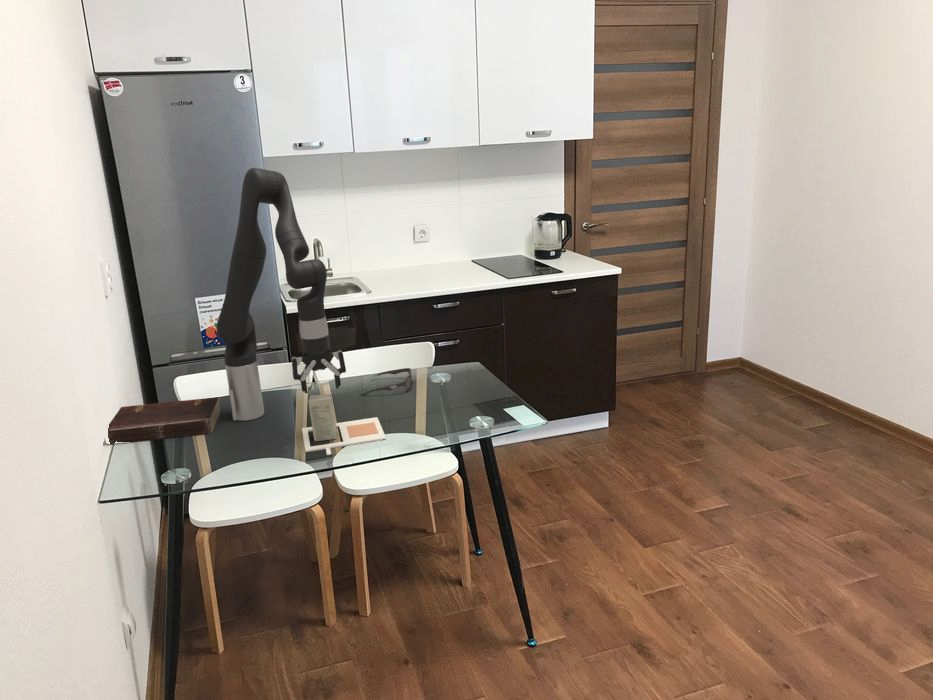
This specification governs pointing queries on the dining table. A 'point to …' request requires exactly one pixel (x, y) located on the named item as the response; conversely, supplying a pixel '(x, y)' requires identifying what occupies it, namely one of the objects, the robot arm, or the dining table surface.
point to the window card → (349, 434)
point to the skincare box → (322, 417)
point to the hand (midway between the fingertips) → (321, 390)
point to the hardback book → (164, 420)
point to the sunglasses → (405, 383)
